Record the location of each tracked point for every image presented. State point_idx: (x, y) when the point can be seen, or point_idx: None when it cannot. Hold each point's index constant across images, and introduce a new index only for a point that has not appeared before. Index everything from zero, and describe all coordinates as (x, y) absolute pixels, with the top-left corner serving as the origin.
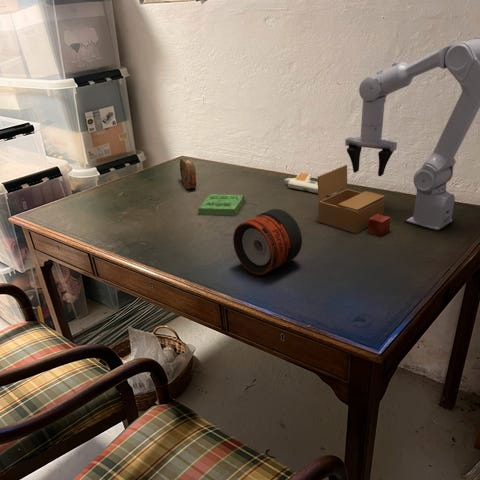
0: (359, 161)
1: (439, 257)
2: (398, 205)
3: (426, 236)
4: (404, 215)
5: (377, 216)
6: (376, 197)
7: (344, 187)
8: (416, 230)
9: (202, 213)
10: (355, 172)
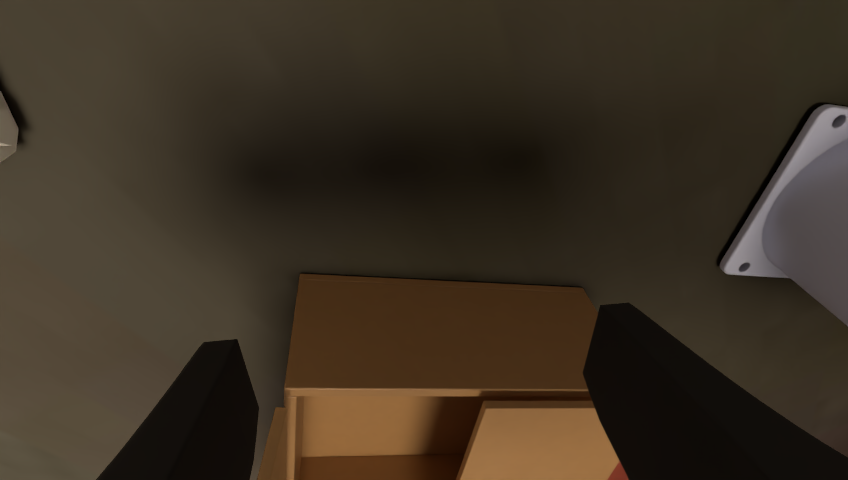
0: (181, 449)
1: (834, 433)
2: (637, 25)
3: (809, 341)
4: (700, 185)
5: (617, 464)
6: (601, 449)
7: (285, 438)
8: (767, 315)
9: None
10: (257, 408)
